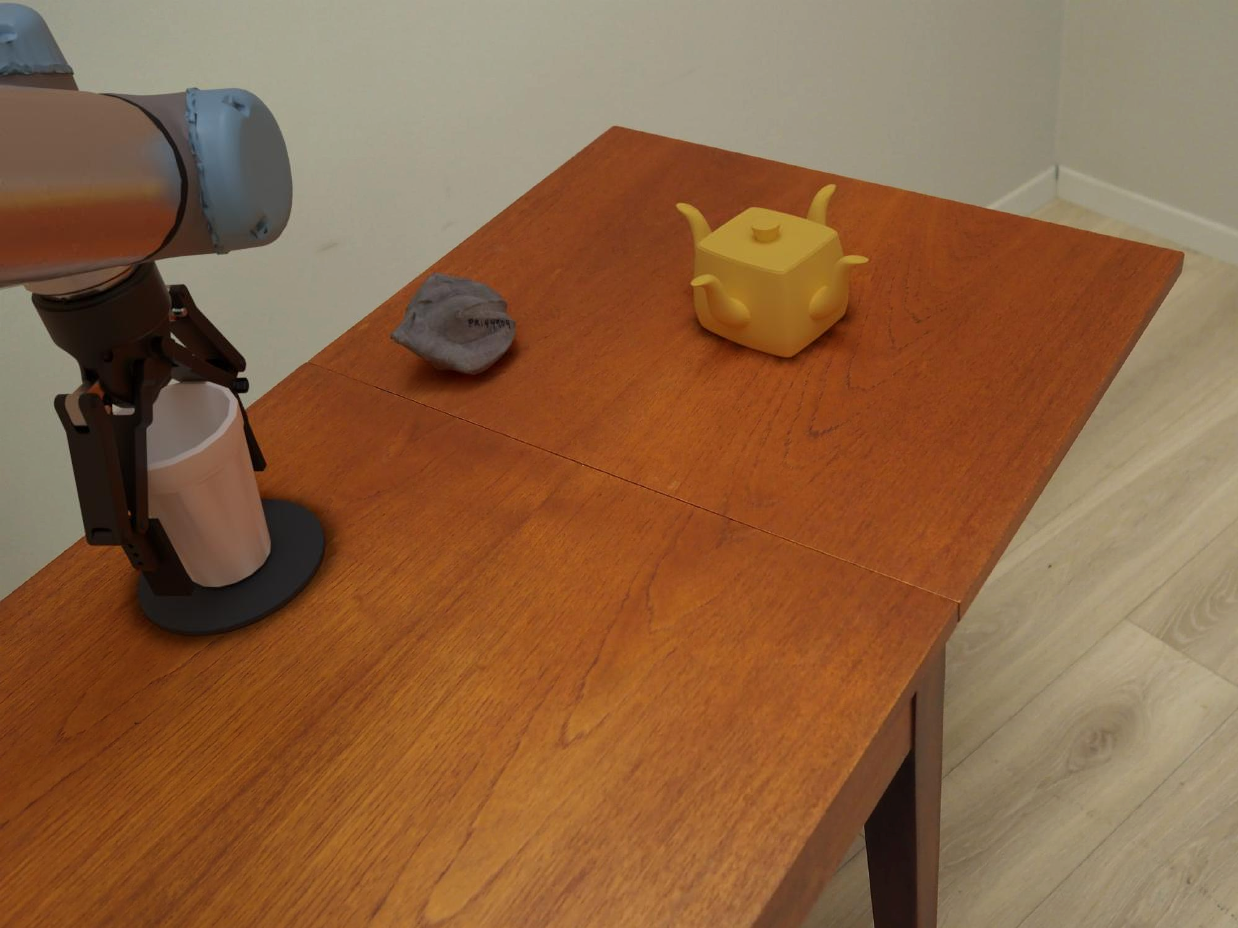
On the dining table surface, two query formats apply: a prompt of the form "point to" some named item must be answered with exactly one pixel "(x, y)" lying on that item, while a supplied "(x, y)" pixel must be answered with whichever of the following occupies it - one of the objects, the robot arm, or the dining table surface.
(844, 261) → the teapot
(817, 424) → the dining table surface
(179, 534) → the cup
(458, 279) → the fossil
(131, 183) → the robot arm
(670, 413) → the dining table surface
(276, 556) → the mat
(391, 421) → the dining table surface
